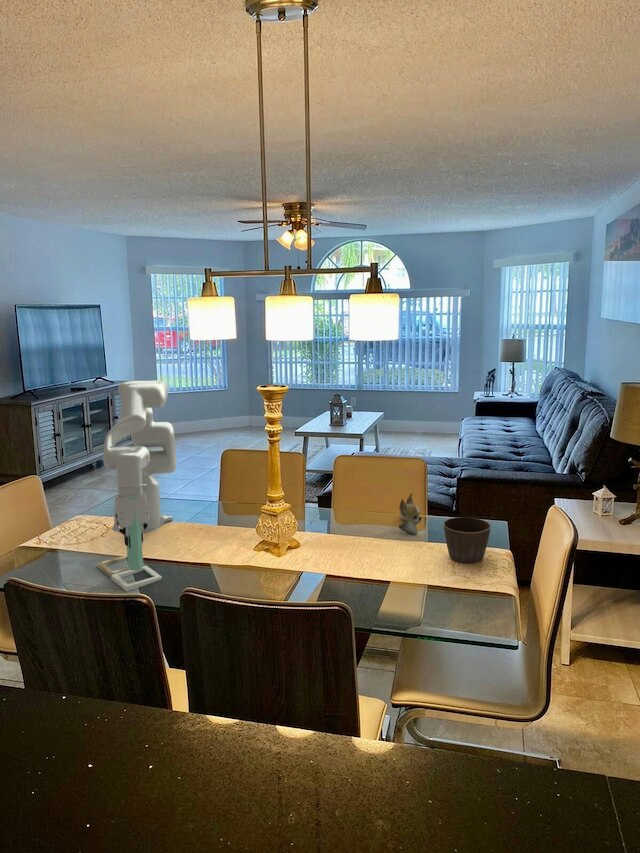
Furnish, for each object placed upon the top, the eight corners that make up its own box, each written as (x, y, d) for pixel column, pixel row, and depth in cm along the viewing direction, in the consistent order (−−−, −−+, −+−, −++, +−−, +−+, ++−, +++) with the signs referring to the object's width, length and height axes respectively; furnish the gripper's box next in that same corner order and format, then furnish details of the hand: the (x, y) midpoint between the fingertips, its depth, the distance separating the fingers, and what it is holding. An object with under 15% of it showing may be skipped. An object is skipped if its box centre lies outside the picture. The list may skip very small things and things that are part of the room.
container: (142, 573, 201) (137, 497, 197) (123, 573, 201) (118, 497, 197) (147, 565, 207) (142, 491, 202) (129, 566, 207) (124, 492, 203)
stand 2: (146, 569, 213) (146, 565, 213) (162, 581, 204) (161, 576, 204) (111, 579, 206) (111, 574, 205) (125, 591, 196) (125, 586, 196)
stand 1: (131, 558, 223) (131, 554, 223) (145, 568, 214) (145, 564, 214) (97, 567, 216) (97, 563, 215) (110, 578, 206) (110, 573, 206)
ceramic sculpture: (416, 540, 237) (416, 501, 234) (394, 536, 241) (394, 498, 238) (426, 531, 246) (426, 494, 243) (405, 528, 250) (405, 491, 247)
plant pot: (482, 583, 198) (483, 535, 195) (436, 574, 205) (437, 527, 203) (494, 567, 211) (495, 521, 208) (450, 559, 218) (451, 514, 215)
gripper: (149, 483, 207) (153, 537, 210) (100, 492, 197) (104, 548, 200) (159, 488, 201) (163, 543, 205) (109, 497, 192) (113, 555, 195)
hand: (134, 545), depth 203 cm, fingers closed on container, 2 cm apart
